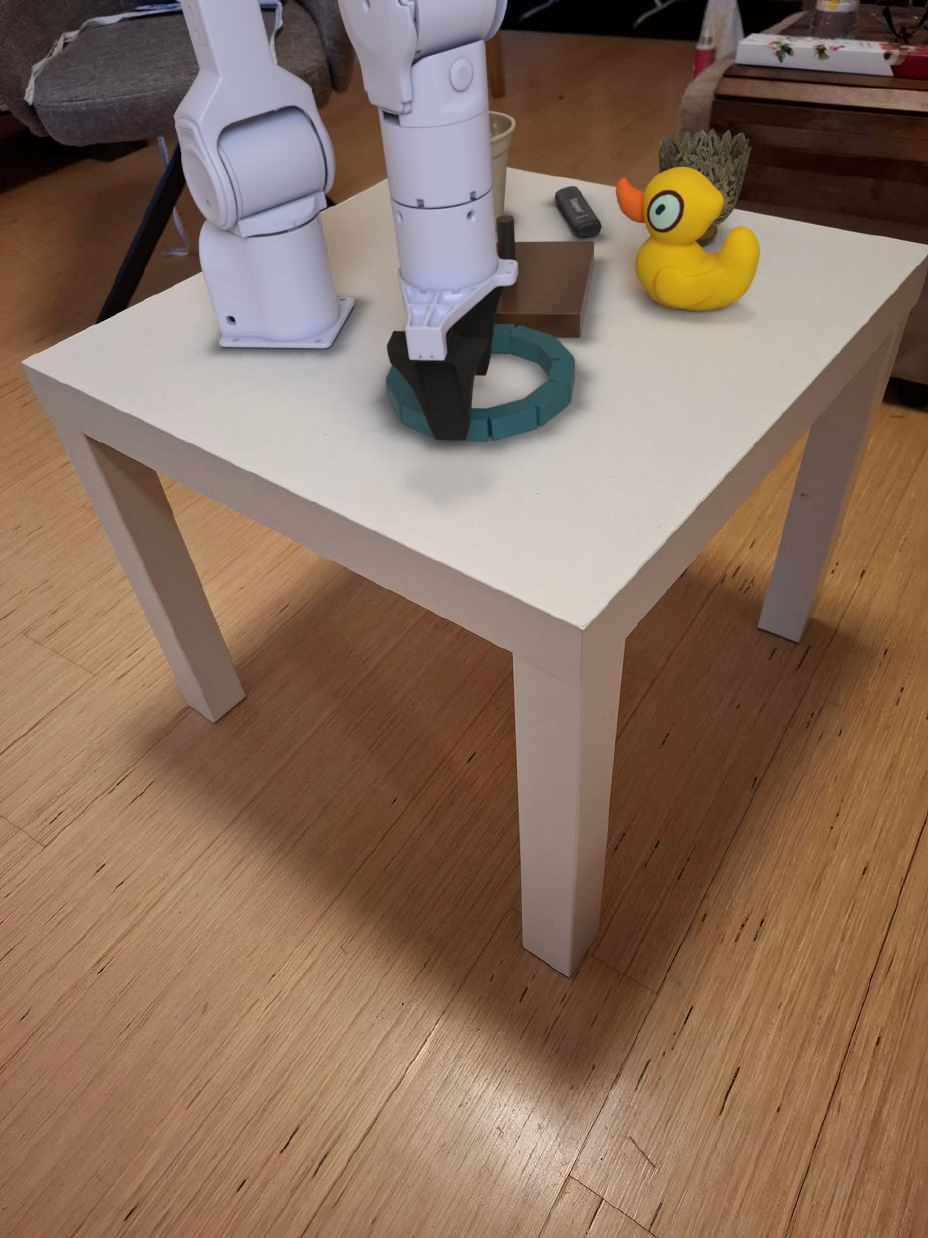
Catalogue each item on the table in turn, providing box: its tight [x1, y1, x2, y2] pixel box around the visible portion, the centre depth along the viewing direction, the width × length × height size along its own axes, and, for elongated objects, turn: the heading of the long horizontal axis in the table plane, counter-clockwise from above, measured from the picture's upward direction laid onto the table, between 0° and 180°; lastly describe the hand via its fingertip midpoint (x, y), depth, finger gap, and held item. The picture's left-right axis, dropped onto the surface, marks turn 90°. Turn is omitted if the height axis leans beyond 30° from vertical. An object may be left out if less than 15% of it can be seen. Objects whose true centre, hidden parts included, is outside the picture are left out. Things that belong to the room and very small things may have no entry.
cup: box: [658, 128, 752, 247], centre depth 75 cm, size 8×7×8 cm
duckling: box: [615, 167, 761, 312], centre depth 66 cm, size 11×5×10 cm, turn 58°
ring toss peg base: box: [495, 214, 595, 338], centre depth 71 cm, size 13×13×6 cm
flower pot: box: [489, 110, 516, 230], centre depth 81 cm, size 9×9×9 cm
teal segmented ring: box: [385, 324, 576, 442], centre depth 63 cm, size 13×13×2 cm
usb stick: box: [554, 185, 603, 238], centre depth 82 cm, size 10×3×2 cm, turn 8°
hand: (462, 403), depth 58 cm, fingers open, 7 cm apart
